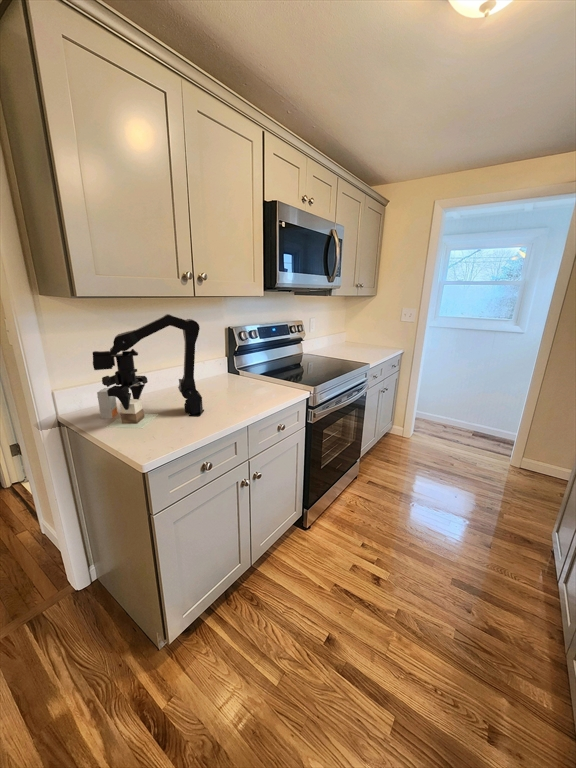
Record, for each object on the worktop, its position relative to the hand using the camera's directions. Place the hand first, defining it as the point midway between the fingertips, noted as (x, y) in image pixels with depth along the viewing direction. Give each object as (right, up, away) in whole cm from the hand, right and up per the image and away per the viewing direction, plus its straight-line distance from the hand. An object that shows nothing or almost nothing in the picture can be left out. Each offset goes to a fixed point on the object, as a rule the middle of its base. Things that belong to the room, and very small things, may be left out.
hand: (131, 406), depth 124 cm
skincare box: (-12, -5, +6) cm, 14 cm away
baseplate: (0, -6, +2) cm, 7 cm away
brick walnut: (0, -6, +2) cm, 6 cm away
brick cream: (0, -2, +1) cm, 2 cm away
